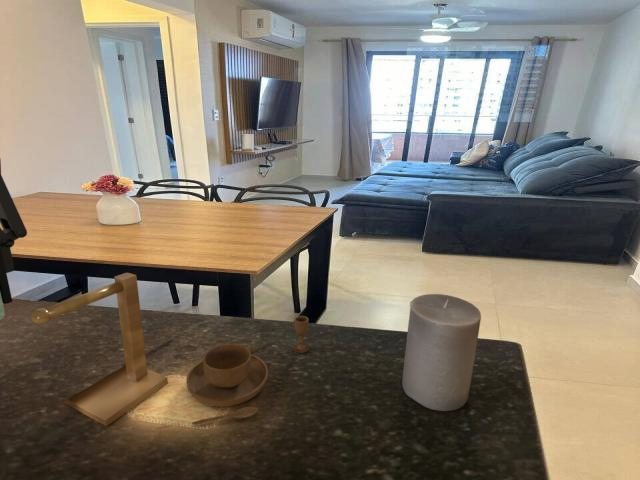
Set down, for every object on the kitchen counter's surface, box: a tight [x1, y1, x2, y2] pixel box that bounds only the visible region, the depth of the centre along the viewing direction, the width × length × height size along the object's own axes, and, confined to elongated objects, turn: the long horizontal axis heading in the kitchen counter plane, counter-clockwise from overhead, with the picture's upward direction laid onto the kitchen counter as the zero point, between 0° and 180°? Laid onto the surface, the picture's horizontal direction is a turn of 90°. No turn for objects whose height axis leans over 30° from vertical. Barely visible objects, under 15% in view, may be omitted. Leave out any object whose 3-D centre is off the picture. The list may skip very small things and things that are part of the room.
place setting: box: [185, 315, 310, 425], centre depth 58 cm, size 18×20×6 cm
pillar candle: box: [401, 293, 482, 412], centre depth 56 cm, size 10×10×15 cm
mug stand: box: [30, 272, 169, 427], centre depth 52 cm, size 12×14×17 cm
